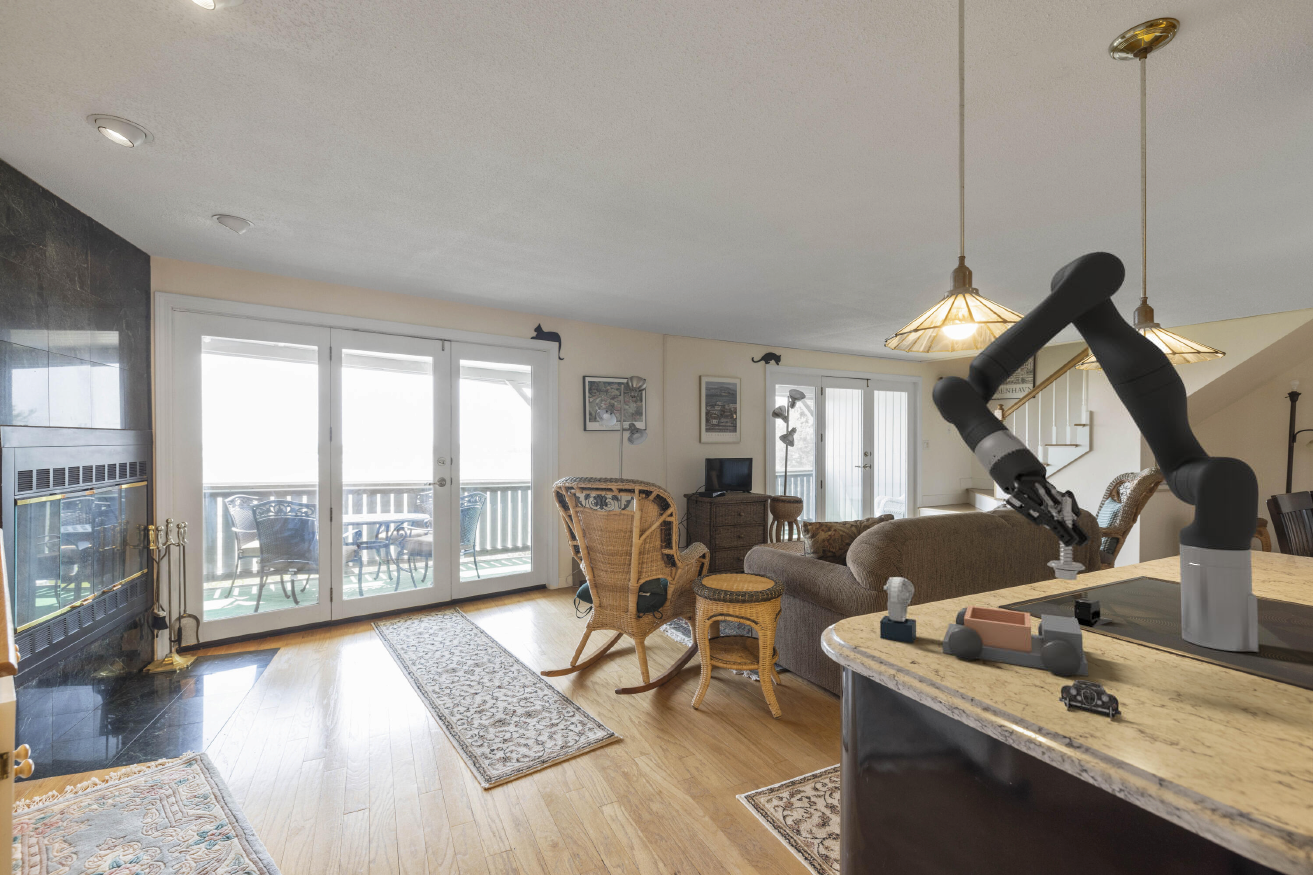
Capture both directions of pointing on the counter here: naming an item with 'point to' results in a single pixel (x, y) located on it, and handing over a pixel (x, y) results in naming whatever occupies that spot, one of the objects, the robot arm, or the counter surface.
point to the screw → (1066, 548)
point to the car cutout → (1090, 698)
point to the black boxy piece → (1088, 613)
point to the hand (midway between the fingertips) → (1079, 542)
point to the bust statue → (898, 612)
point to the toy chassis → (1017, 640)
